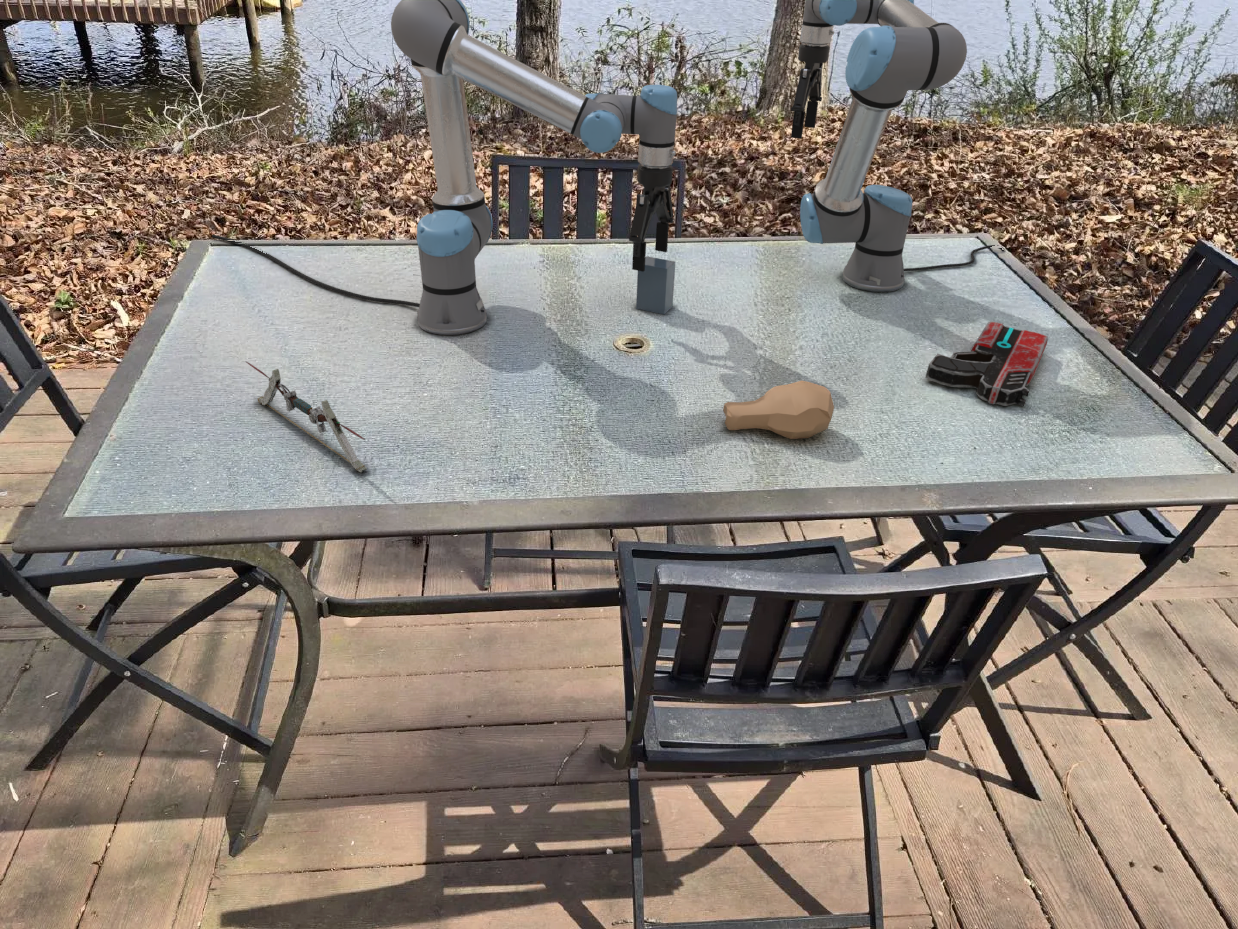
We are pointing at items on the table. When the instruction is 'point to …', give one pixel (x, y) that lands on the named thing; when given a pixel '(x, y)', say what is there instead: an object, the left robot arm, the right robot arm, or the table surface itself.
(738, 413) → the squash
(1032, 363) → the gun
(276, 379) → the bow
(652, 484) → the table surface
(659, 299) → the brick
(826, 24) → the right robot arm
